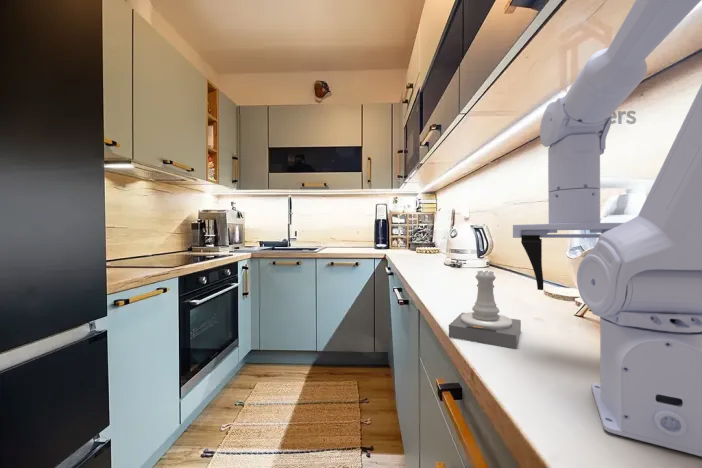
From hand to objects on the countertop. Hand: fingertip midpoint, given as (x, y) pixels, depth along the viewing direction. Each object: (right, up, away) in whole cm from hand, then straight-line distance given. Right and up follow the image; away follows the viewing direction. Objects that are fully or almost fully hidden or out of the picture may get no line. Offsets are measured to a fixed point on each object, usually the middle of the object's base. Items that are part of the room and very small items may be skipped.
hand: (573, 291), depth 42 cm
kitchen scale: (-7, -9, +11) cm, 16 cm away
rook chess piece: (-7, -7, +11) cm, 15 cm away
